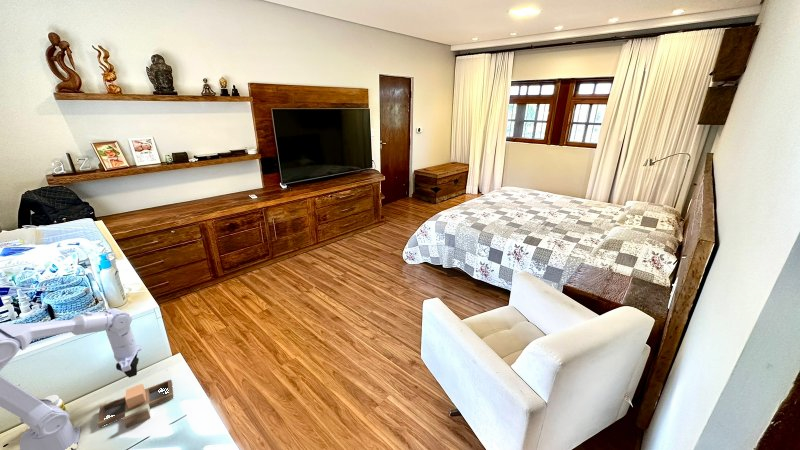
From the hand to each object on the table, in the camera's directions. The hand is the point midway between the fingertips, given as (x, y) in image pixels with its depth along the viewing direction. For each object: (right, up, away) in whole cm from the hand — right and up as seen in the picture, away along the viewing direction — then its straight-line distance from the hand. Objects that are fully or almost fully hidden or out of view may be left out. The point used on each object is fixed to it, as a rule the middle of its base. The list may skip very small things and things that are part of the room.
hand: (133, 371), depth 106 cm
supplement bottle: (-17, -11, -8) cm, 22 cm away
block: (+4, -8, -2) cm, 9 cm away
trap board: (+5, -11, -3) cm, 12 cm away
